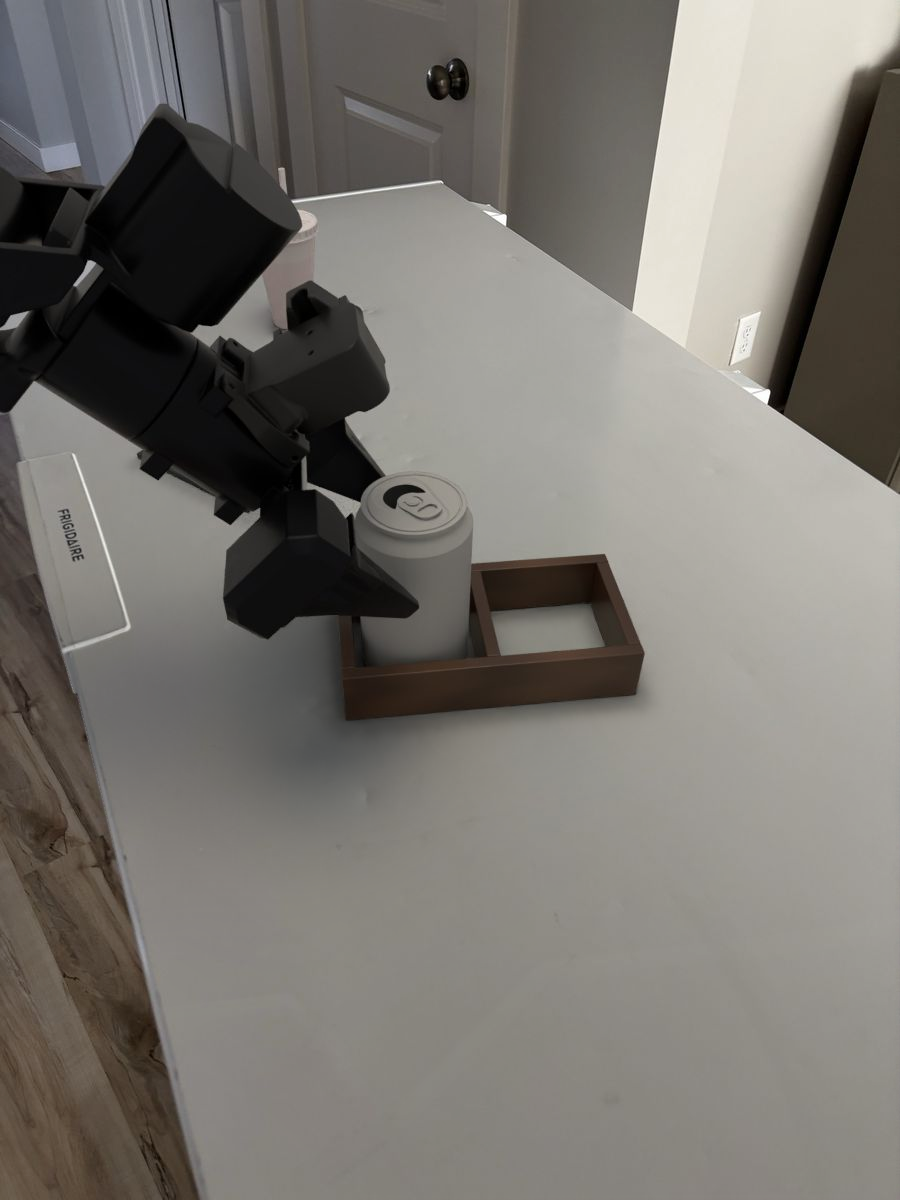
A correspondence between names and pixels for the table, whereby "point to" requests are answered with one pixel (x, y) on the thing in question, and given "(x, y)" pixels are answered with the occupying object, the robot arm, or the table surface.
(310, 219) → the smoothie
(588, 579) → the stand
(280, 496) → the robot arm
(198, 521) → the table surface
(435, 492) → the beverage can
